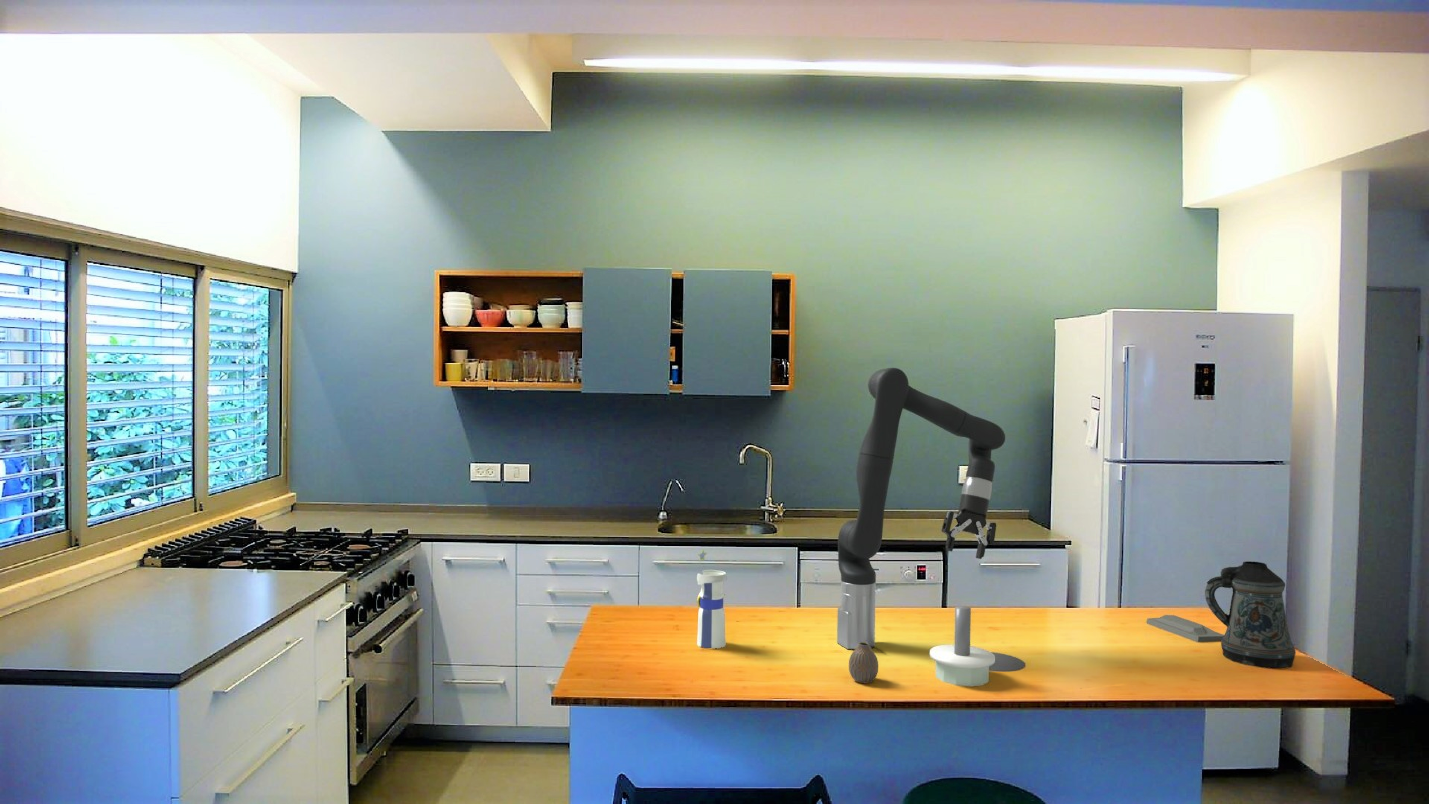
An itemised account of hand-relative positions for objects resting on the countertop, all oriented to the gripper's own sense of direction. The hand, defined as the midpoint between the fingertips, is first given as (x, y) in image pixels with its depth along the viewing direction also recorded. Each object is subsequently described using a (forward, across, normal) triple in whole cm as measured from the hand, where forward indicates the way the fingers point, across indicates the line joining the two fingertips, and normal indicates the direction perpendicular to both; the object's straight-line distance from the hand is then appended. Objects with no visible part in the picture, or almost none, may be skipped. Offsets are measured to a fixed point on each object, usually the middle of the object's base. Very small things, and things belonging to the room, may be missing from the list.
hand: (964, 554), depth 233 cm
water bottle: (+39, -59, +13) cm, 72 cm away
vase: (+36, -28, -20) cm, 49 cm away
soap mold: (+6, +76, +9) cm, 76 cm away
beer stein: (+9, +75, -16) cm, 78 cm away
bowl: (+30, -5, -22) cm, 37 cm away
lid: (+25, -6, -22) cm, 34 cm away
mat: (+25, +8, -11) cm, 29 cm away
